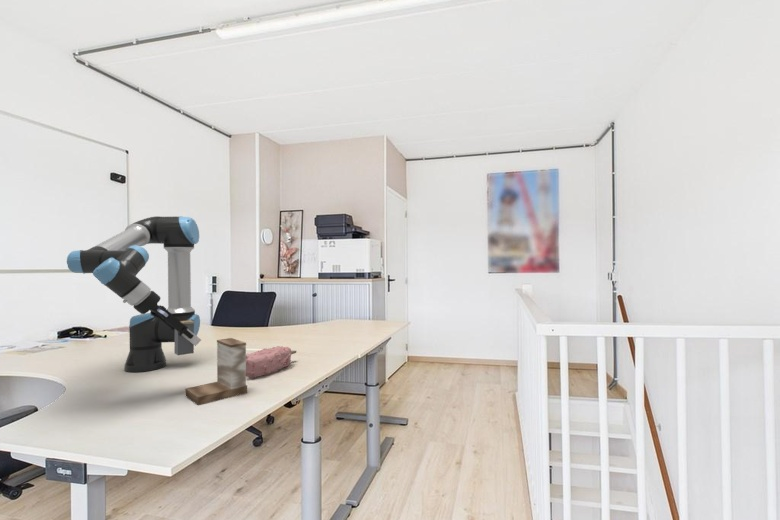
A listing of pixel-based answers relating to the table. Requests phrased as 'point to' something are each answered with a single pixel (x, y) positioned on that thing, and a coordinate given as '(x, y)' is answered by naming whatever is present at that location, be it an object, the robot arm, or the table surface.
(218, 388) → the stand
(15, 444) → the table surface
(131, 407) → the table surface
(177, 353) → the case
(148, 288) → the robot arm
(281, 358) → the ice cream bar
